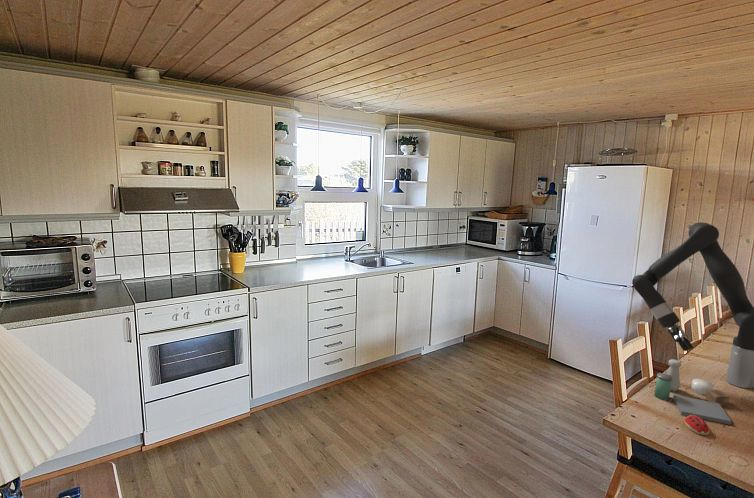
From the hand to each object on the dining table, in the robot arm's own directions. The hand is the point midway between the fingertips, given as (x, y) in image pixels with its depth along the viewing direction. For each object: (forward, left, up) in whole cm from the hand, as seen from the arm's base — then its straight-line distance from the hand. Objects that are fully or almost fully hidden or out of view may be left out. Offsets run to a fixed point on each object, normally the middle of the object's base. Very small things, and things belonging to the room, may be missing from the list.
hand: (689, 349), depth 176 cm
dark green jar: (+11, +15, -17) cm, 25 cm away
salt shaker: (+6, +6, -17) cm, 19 cm away
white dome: (-6, +2, -17) cm, 18 cm away
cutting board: (-1, +21, -17) cm, 27 cm away
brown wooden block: (-9, +10, -17) cm, 22 cm away
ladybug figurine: (+4, +35, -17) cm, 39 cm away
